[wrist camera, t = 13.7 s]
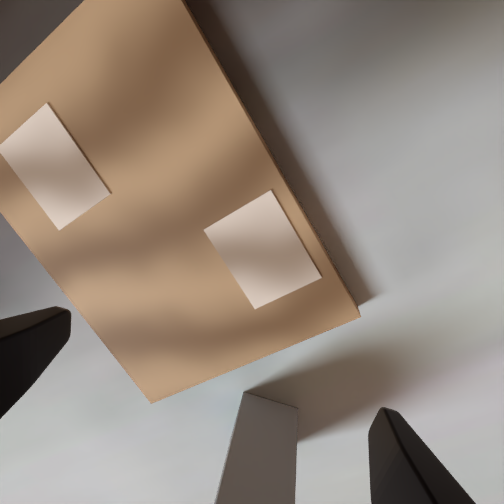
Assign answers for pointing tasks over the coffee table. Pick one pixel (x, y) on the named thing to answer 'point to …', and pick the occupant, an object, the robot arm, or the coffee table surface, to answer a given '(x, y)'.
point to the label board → (159, 198)
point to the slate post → (261, 454)
